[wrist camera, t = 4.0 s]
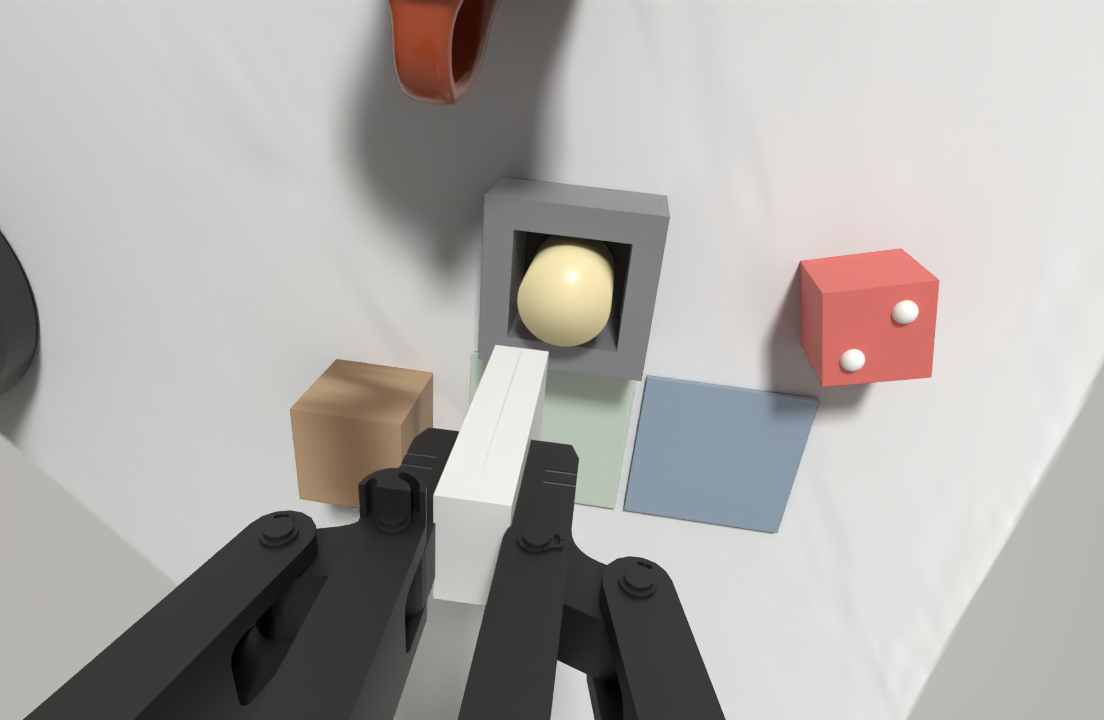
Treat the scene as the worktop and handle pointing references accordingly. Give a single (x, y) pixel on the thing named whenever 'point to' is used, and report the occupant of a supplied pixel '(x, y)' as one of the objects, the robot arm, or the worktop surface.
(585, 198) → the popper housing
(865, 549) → the worktop surface
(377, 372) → the tan wooden cuboid
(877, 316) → the die
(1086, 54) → the worktop surface
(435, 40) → the mug
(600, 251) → the button
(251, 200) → the worktop surface
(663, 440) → the tile
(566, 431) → the tile
